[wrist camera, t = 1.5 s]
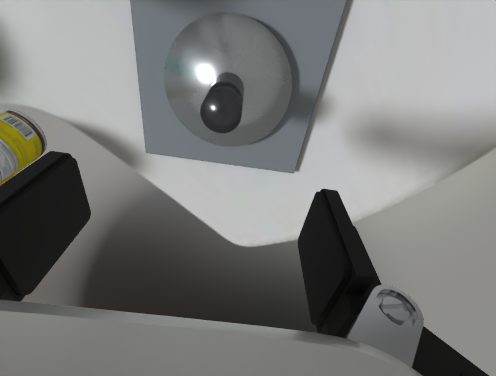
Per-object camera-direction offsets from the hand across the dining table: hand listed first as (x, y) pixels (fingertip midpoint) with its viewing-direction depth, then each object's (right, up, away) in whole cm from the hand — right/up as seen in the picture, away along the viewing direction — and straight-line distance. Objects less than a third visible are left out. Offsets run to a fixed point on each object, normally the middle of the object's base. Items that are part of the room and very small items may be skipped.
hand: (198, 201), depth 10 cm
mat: (0, +10, +13) cm, 16 cm away
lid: (0, +10, +12) cm, 16 cm away
